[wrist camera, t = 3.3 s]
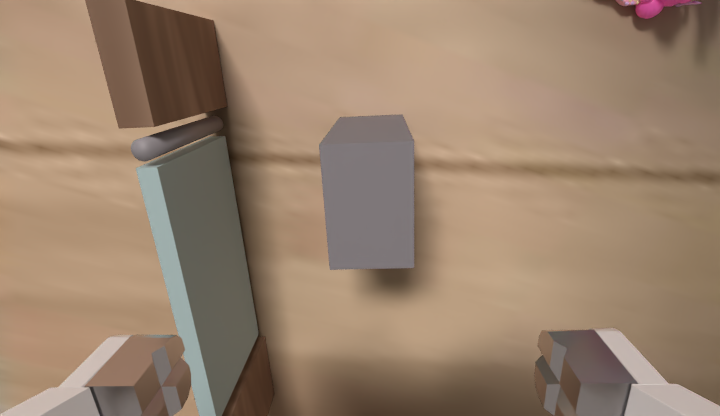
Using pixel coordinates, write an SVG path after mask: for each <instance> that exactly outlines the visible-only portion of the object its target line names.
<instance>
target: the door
mask: <svg viewBox="0 0 720 416" xmlns="http://www.w3.org/2000/svg"><path fill="white" fill-rule="evenodd" d="M222 128H223V122H222V120H221V118H219V117H218V116H211V117H207V118H204V119H201V120H198V121H195V122H191V123H188V124H185V125H182V126H179V127H175V128H172V129H169V130H166V131H163V132H159V133H156V134H153V135H150V136H147V137H143V138H140V139H137V140H135V141H134V142H133V143H132V145H131V151H132V154H133V155H134V157H135V158H137V159H138V160H140V161H148V160H151V159H153V158H155V157H158V156H160V155H163V154H165V153H167V152H170V151H172V150H175V149H177V148H179V147H182V146H184V145H187V144H189V143H191V142H194V141H196V140H199V139H201V138H203V137H206V136H208V135H211V134H213V133H215V132H218V131H220V130H221V129H222ZM136 171H137V175H138V179H139V183H140V187H141V190H142V194H143V198H144V202H145V206H146V210H147V214H148V218H149V222H150V226H151V229H152V233H153V237H154V241H155V245H156V249H157V253H158V257H159V261H160V264H161V268H162V272H163V276H164V280H165V284H166V288H167V292H168V296H169V300H170V303H171V307H172V311H173V315H174V319H175V323H176V327H177V331H178V335H179V337H181V338H182V341H183V344H184V347H185V351H184V353H183V354H184V358H185V362H186V363H187V364H188V365H189V367H190V371H191V385H192V389H193V393H194V397H195V401H196V405H197V409H198V413H199V416H222V414H223V412H224V410H225V407H226V405H227V403H228V401H229V399H230V396H231V394H232V392H233V390H234V387H235V385H236V383H237V381H238V379H239V376H240V374H241V372H242V370H243V367H244V365H245V363H246V361H247V359H248V356H249V354H250V352H251V350H252V347H253V345H254V343H255V341H256V339H257V336H258V334H259V333H258V327H257V321H256V315H255V309H254V303H253V297H252V291H251V286H250V280H249V274H248V268H247V262H246V256H245V250H244V244H243V238H242V232H241V226H240V221H239V215H238V209H237V203H236V197H235V191H234V185H233V179H232V173H231V167H230V162H229V156H228V150H227V144H226V138H225V136H210V137H208V138H205V139H203V140H201V141H198V142H196V143H194V144H191V145H189V146H186V147H184V148H182V149H179V150H177V151H175V152H172V153H170V154H168V155H165V156H163V157H161V158H158V159H156V160H154V161H151V162H149V163H147V164H144V165H142V166H140V167H137V168H136Z"/></svg>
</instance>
